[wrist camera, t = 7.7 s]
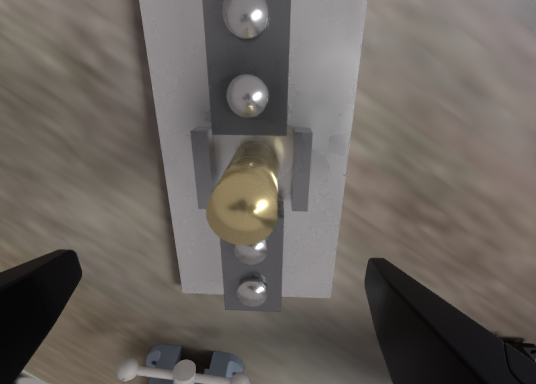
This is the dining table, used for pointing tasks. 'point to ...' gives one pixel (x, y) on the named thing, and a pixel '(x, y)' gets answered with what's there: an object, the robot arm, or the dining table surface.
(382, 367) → the dining table surface
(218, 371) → the vise
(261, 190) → the pin
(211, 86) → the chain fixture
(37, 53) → the dining table surface
